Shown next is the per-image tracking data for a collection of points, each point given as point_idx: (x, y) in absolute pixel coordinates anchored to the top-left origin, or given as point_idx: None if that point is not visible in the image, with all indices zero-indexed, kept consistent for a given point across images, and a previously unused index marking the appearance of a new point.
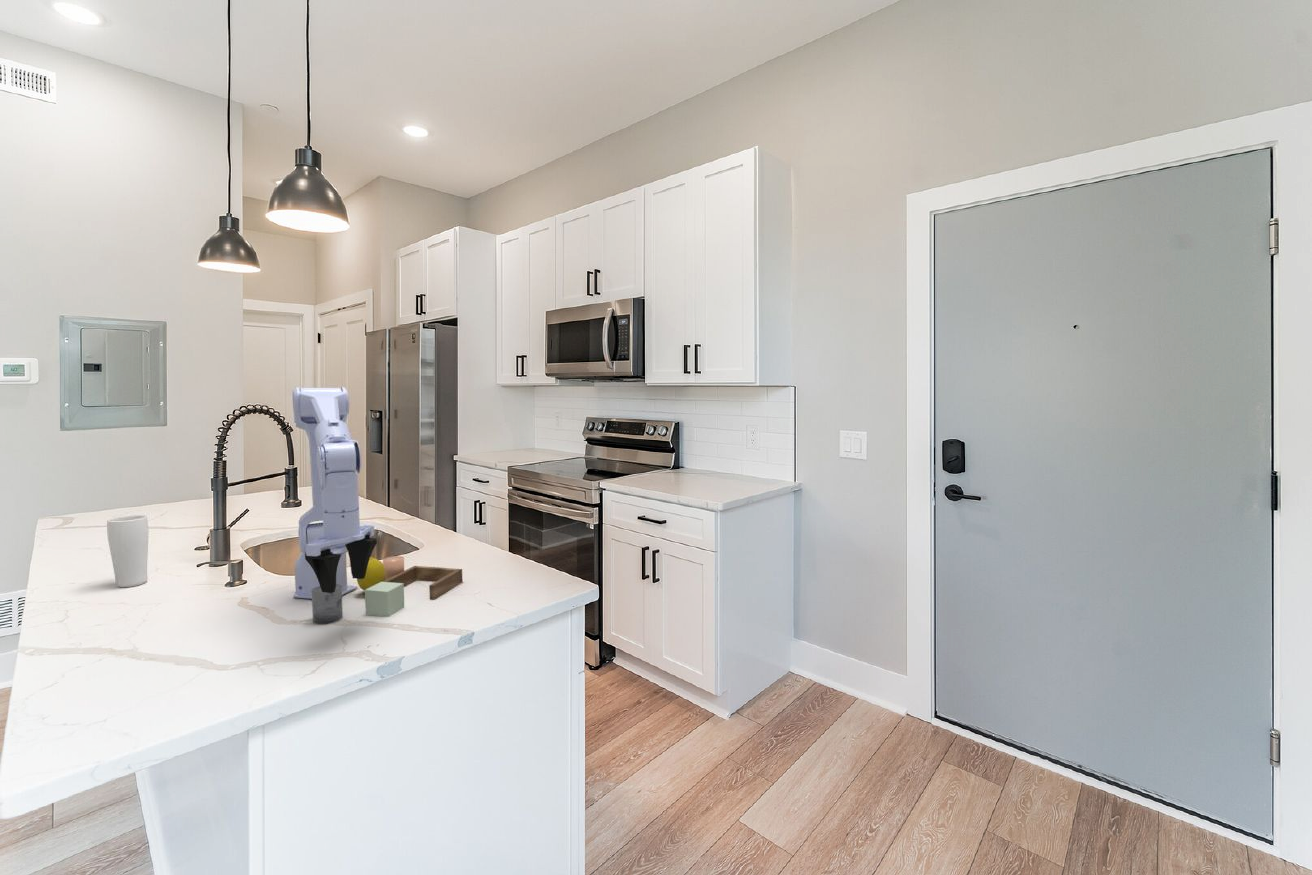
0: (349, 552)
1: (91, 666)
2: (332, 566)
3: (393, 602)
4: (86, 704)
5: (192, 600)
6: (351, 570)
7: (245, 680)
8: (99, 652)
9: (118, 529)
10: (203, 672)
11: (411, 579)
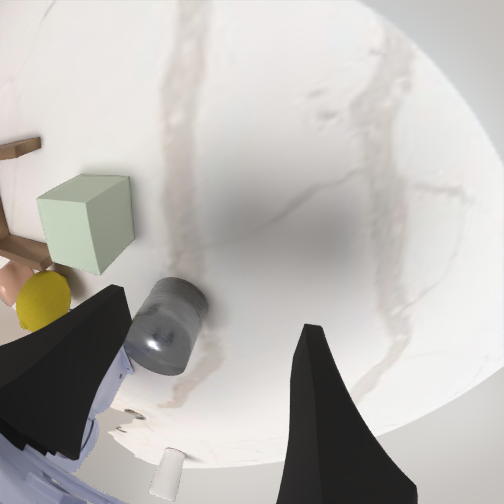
0: (85, 415)
1: None
2: (371, 449)
3: (93, 185)
4: (445, 388)
5: (186, 430)
6: (118, 349)
7: (456, 291)
8: None
9: (173, 495)
10: (408, 356)
11: (12, 238)
